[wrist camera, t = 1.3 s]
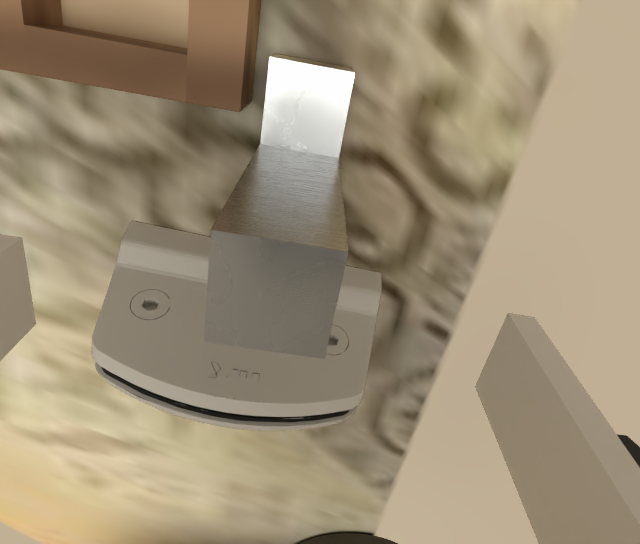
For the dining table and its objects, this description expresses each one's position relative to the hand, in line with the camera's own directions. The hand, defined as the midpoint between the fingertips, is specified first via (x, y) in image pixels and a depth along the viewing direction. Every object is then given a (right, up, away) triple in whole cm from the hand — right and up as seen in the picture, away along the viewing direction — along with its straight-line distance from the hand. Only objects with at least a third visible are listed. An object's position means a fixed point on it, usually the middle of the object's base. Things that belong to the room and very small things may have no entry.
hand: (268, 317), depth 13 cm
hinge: (-3, 0, +18) cm, 18 cm away
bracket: (0, +9, +13) cm, 15 cm away
